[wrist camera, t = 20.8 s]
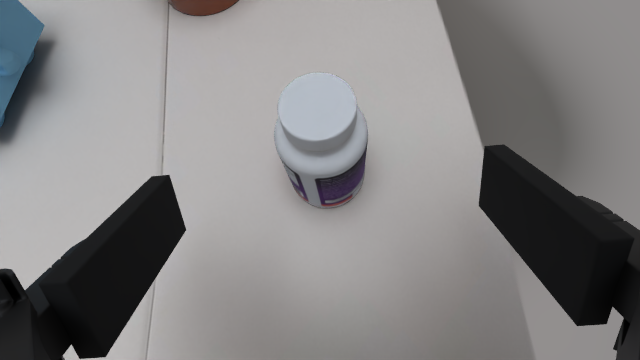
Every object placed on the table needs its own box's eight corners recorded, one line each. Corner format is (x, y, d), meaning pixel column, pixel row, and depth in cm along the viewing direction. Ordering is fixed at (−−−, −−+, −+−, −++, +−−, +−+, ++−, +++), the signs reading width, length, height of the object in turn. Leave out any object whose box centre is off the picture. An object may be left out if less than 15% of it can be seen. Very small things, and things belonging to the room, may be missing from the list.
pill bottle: (371, 150, 27) (382, 70, 18) (354, 217, 25) (357, 166, 16) (303, 135, 28) (281, 51, 19) (282, 199, 26) (247, 141, 17)
